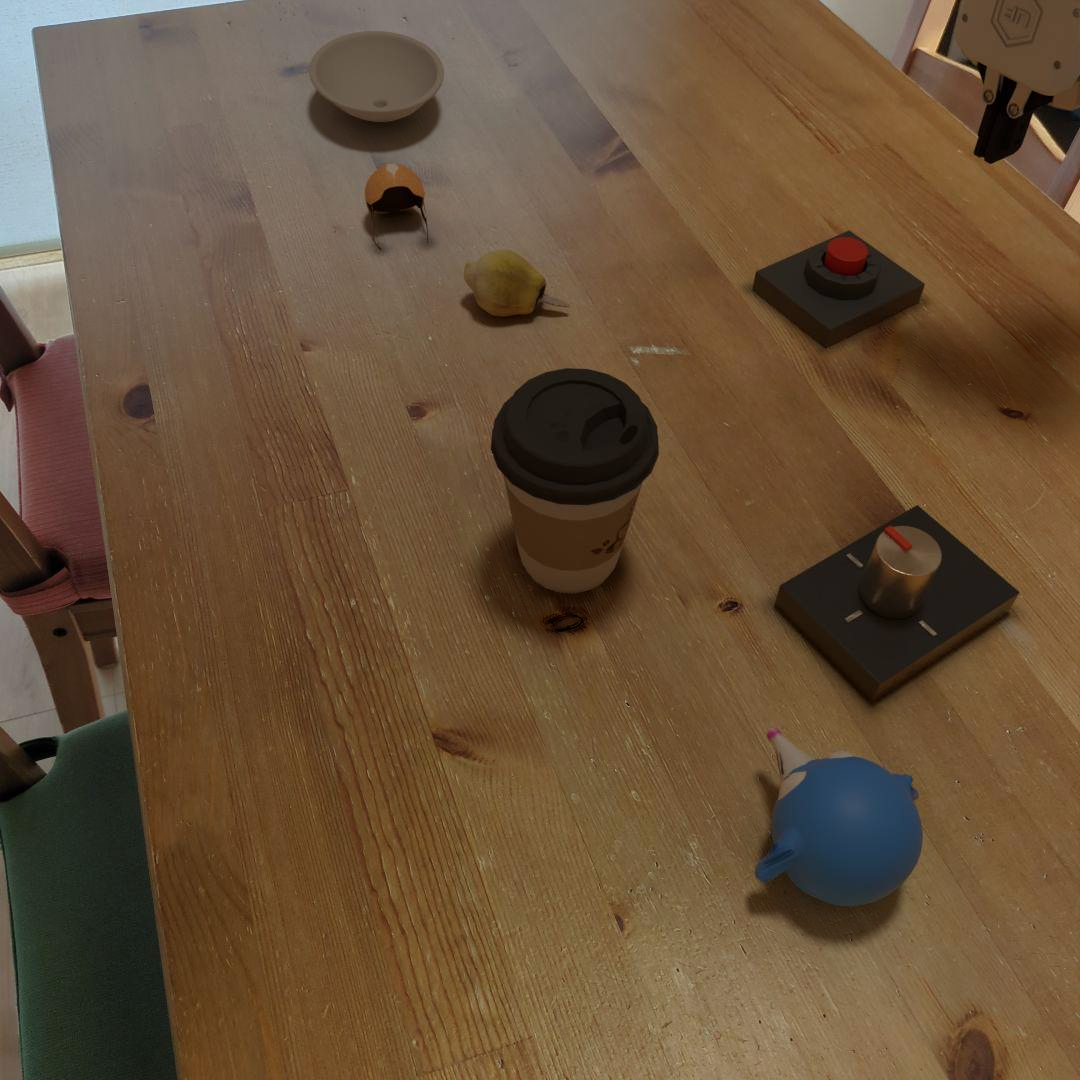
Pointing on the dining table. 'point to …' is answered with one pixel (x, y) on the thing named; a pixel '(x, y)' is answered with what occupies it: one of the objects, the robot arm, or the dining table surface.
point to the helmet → (394, 191)
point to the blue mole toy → (841, 826)
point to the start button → (845, 256)
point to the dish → (376, 74)
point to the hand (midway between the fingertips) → (994, 153)
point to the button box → (836, 292)
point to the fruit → (507, 284)
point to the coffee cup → (573, 472)
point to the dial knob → (899, 571)
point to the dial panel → (883, 643)
